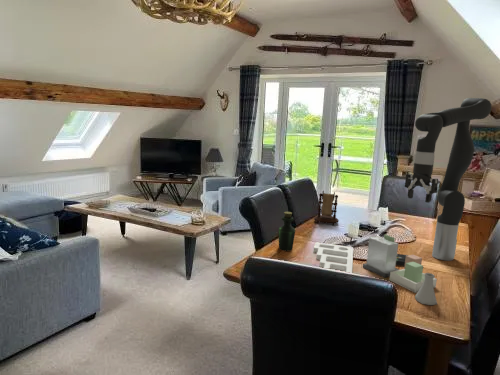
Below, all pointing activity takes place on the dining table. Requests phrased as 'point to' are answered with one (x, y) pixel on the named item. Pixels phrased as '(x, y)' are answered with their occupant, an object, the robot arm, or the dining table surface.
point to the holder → (333, 250)
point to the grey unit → (382, 255)
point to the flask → (427, 291)
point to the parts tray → (408, 281)
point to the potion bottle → (286, 233)
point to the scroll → (327, 209)
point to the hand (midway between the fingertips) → (418, 200)
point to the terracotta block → (413, 259)
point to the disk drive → (400, 259)
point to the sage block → (413, 271)
